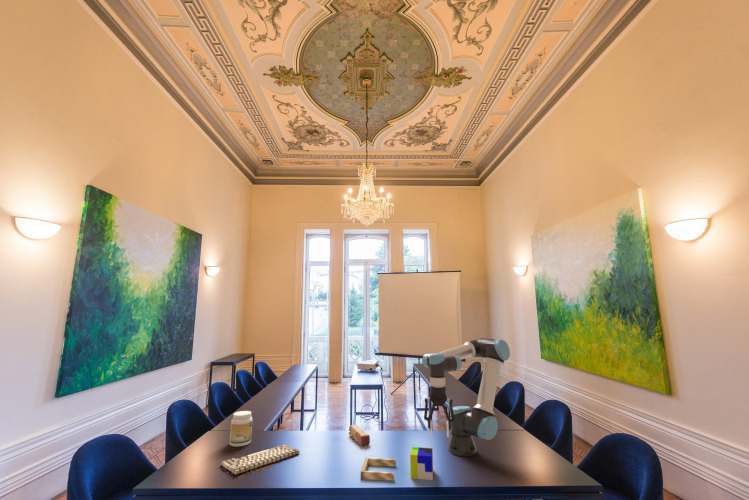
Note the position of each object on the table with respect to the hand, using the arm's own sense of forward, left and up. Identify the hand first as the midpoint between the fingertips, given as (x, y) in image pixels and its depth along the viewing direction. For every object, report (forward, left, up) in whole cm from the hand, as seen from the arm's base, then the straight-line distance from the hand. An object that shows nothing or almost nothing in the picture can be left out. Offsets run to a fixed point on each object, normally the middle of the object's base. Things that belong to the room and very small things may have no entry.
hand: (439, 435), depth 162 cm
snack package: (+46, -41, -18) cm, 64 cm away
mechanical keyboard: (+92, -6, -18) cm, 94 cm away
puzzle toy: (+9, 0, -17) cm, 20 cm away
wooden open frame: (+29, 0, -17) cm, 34 cm away
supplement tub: (+116, -28, -17) cm, 121 cm away
